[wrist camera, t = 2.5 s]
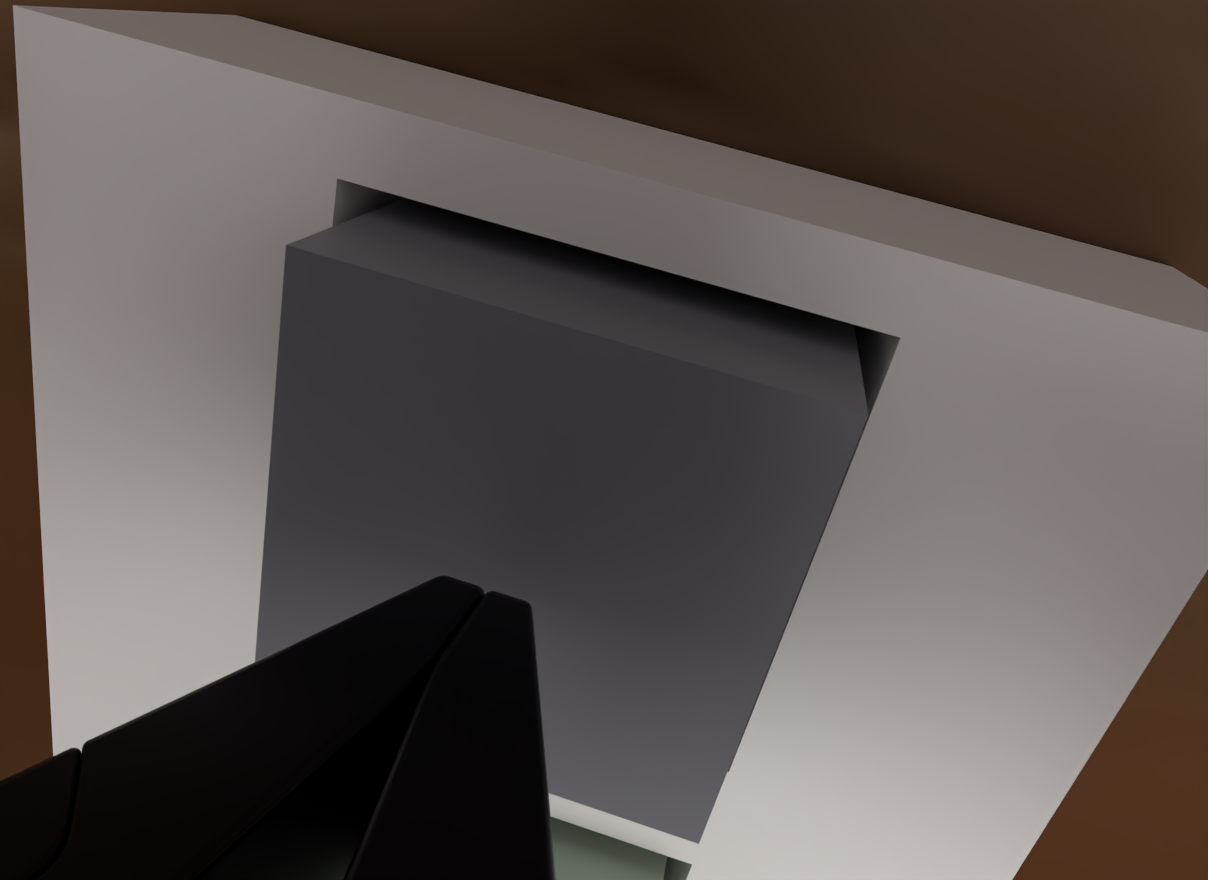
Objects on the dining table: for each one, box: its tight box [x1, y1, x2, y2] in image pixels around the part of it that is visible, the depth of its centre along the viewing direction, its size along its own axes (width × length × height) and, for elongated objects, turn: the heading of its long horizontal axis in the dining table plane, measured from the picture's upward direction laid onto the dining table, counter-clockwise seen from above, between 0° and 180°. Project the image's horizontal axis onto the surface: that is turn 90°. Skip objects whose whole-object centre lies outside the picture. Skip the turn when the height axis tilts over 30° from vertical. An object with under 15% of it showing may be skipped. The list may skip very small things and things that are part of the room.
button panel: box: [13, 5, 1208, 880], centre depth 15 cm, size 22×13×4 cm, turn 167°
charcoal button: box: [255, 198, 868, 844], centre depth 11 cm, size 5×5×4 cm
